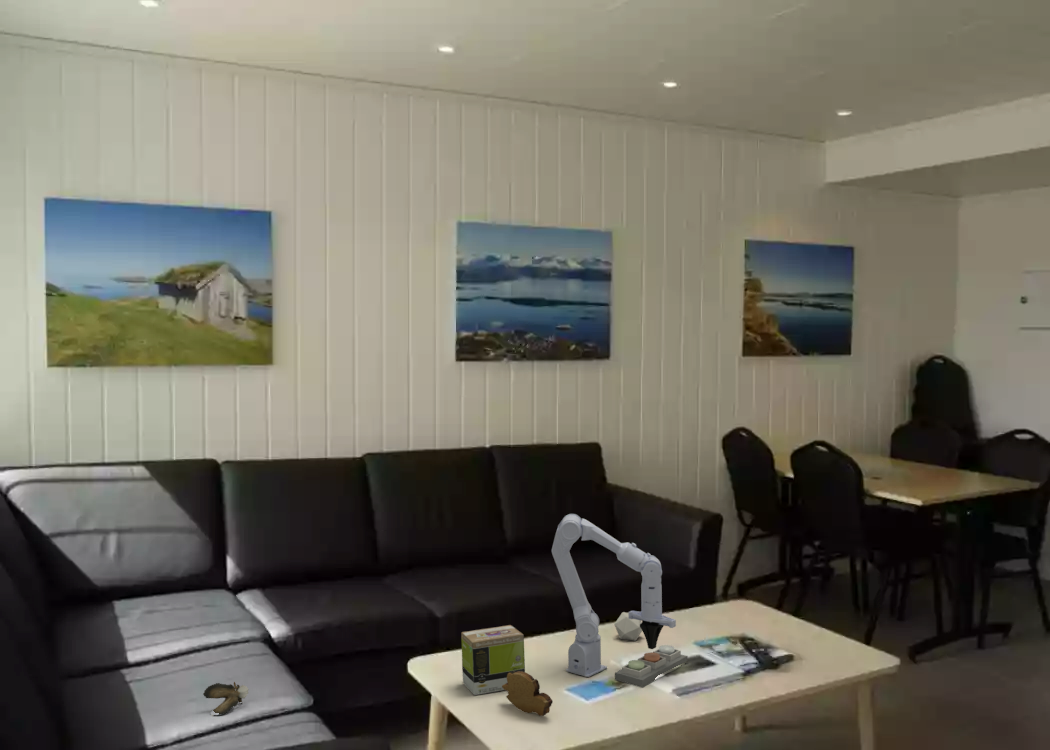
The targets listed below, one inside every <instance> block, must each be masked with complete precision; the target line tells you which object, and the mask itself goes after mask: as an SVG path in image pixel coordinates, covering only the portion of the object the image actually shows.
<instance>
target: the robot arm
mask: <svg viewBox="0 0 1050 750" xmlns="http://www.w3.org/2000/svg"><path fill="white" fill-rule="evenodd" d="M580 537H581V541H590V540H591V541H594V542H595V543H597V544H599V545H601V546H603V547H604V548H605V549H608V550H610V551H611V552H613V553H614V554H616V557H617V558H616V559H617V560H618V561H620V563H623V564H624V565H626V566H627V567H628V568H631V569H632V570H634V571H635V572H639V573H640V574H641V576H642V577H641V578H642V579H641V580H642V581H641V585H640V588H641V589H640V590H641V592H640V593H641V599H640V600H641V602H640V603H641V607H640V608H641V611H637V610H630V611H628V612H627V613H628V618H629V619H636V620H641V622H642V623H641V624H640V628H641V629H642V633H643V635H644V638H645V640H646V645H647V648H648V649H649V650H654V649H656V647H657V644H658V640H659V637H660V634H661V631H662V629H663V627H669V628H670V629H673V628H675V627H677V620H676V619H675V618H672V617H671V618H670V617H668V616H666V615H663V607H662V606H663V602H662V601H663V600H662V599H663V597H662V596H663V595H662V594H663V592H662V588H663V587H662V575H663V570H662V564H661V561H660V559H658V558H657V557H656V556H655V555H651V553H649V552H647V553H646V552H645V551H643V550H642V549H640V548H638V546H637V543H634V542H631V543H630V542H620V541H619V540H618V539H616V538H614V537H613V536H612V535H610V534H608V533H607V532H605V531H604V530H603V529H601V528H600V527H599V526H596V525H595V524H594V523H592V522H590V521H589V520H587V519H585V518H581V517H580V516H579V515H578V514H576V513H569V514H567V515H564V517H563V518H562V520H561V521H560V522H559V524H558V525H557V529H556V532H555V535H554V539H553V543H552V547H551V554H552V557H553V559H554V563H555V565H556V569H557V571H558V573H559V576H560V579H561V582H562V584H563V588H564V589H565V592H566V594H567V597H568V601H569V603H570V605H571V609H572V611H573V617H574V621H575V625H576V626H575V637H574V638H575V639H574V642H573V643H571V644H570V646H569V648H568V652H567V653H568V654H567V656H568V659H567V662H568V668H566V669H565V671H566V672H568V673H571V674H576V675H579V676H582V677H586V678H590V677H592V676H594V675H596V674H598V673H600V672H602V671H604V670H606V669H607V668H608V666H607V665H603V664H602V659H601V658H602V655H601V654H602V653H601V652H602V650H601V649H602V648H601V647H602V646H601V645H602V644H601V641H602V639H601V637H602V636H601V635H600V634H599V632H600V631H599V626H600V618H599V616H598V614H597V613H595V611H594V610H593V609H592V606H591V604H590V603H589V601H588V599H587V596H586V593H585V590H584V588H583V584H582V582H581V579H580V577H579V574H578V571H577V568H576V565H575V564H574V560H573V557H572V556H571V553H570V550H572V549H571V548H572V546H573V544H574V543H576V542H577V541H578V540H579V538H580Z"/></svg>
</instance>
